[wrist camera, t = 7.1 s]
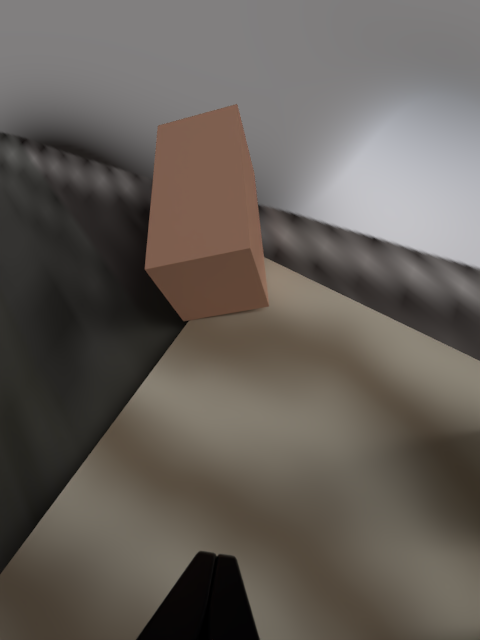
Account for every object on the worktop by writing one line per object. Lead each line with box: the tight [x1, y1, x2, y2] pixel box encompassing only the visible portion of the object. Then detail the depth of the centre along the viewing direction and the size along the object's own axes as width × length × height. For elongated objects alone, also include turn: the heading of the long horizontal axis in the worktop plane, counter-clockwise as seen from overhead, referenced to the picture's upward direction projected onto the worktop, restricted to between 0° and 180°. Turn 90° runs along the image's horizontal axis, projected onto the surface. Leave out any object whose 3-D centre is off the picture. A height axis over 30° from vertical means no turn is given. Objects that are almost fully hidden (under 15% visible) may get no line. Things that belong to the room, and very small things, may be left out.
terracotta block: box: [145, 104, 269, 321], centre depth 20 cm, size 4×4×10 cm
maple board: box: [0, 258, 480, 640], centre depth 14 cm, size 24×23×1 cm
